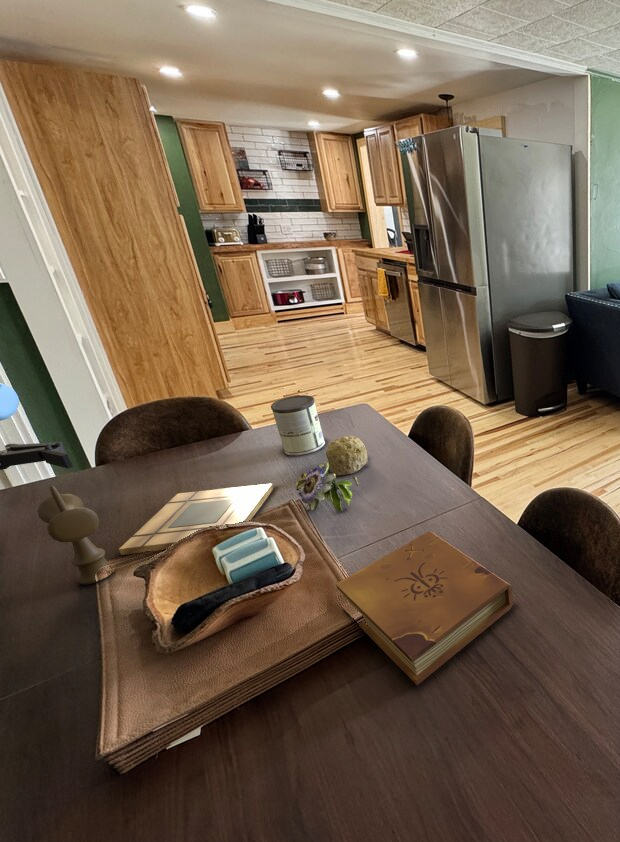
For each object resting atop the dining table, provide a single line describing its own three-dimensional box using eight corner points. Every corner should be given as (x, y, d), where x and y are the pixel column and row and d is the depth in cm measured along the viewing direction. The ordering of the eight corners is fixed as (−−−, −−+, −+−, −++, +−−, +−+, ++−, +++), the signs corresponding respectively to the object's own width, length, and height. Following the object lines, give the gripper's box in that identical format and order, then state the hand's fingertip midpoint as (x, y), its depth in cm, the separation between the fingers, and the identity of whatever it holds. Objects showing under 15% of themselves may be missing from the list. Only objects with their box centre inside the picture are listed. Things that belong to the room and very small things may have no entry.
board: (121, 555, 94) (118, 548, 93) (179, 498, 112) (177, 492, 111) (235, 541, 98) (232, 534, 97) (274, 488, 116) (272, 483, 115)
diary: (513, 607, 82) (511, 581, 80) (417, 686, 69) (411, 658, 66) (436, 551, 95) (432, 528, 93) (342, 608, 82) (335, 582, 79)
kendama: (84, 597, 84) (31, 503, 76) (69, 576, 88) (18, 485, 81) (128, 577, 88) (83, 486, 80) (112, 557, 93) (68, 470, 85)
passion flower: (316, 528, 110) (281, 488, 108) (356, 498, 118) (324, 460, 116) (329, 520, 103) (292, 478, 101) (371, 489, 110) (337, 449, 108)
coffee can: (281, 445, 136) (268, 400, 131) (321, 435, 142) (310, 392, 137) (286, 459, 129) (273, 412, 123) (328, 448, 135) (317, 402, 129)
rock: (327, 480, 126) (307, 461, 118) (348, 444, 133) (331, 425, 125) (359, 486, 125) (342, 468, 117) (380, 450, 131) (364, 430, 123)
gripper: (45, 448, 102) (111, 463, 96) (-151, 516, 80) (-80, 541, 74) (29, 416, 99) (96, 430, 93) (-179, 478, 77) (-108, 502, 71)
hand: (18, 480), depth 84 cm, fingers open, 13 cm apart
